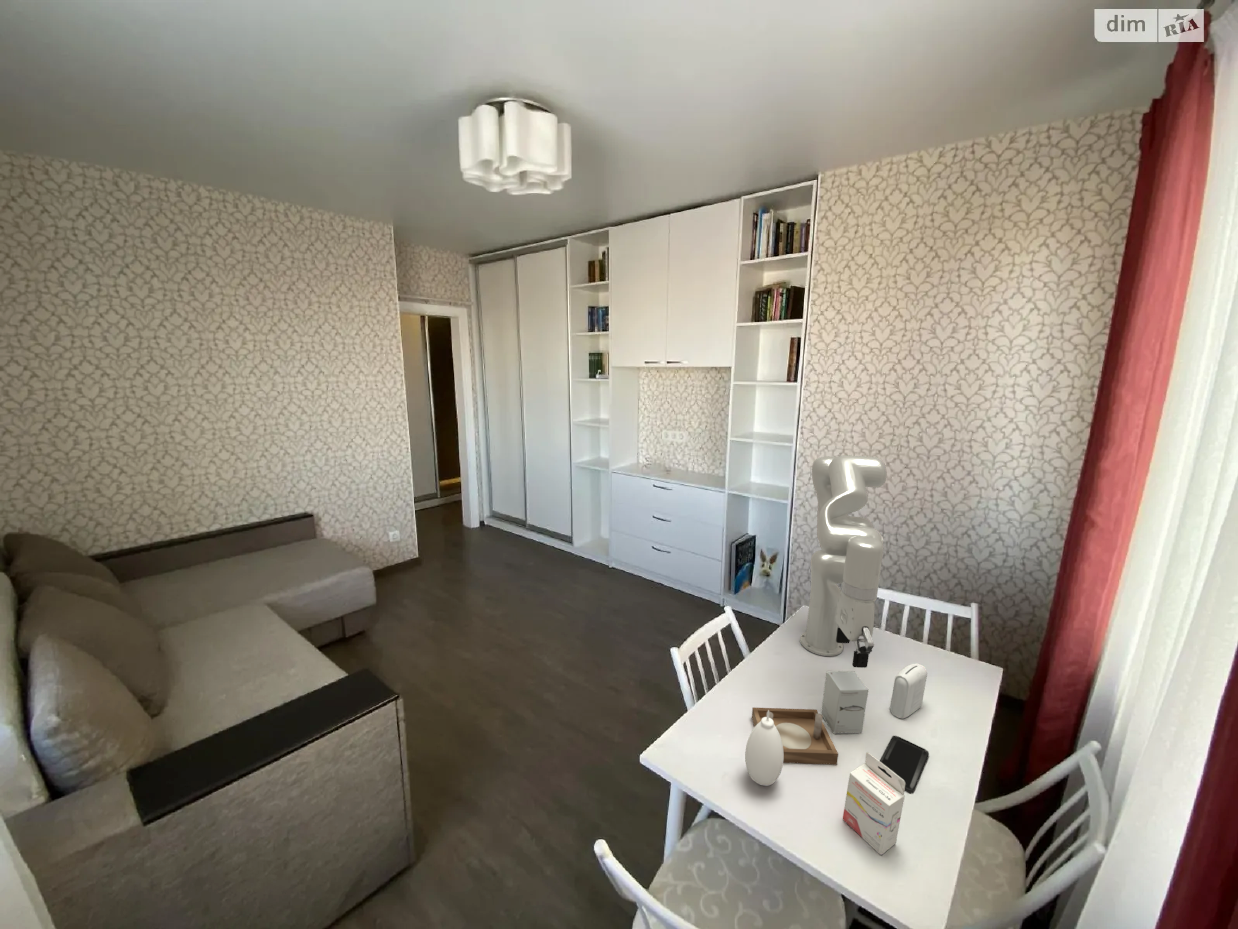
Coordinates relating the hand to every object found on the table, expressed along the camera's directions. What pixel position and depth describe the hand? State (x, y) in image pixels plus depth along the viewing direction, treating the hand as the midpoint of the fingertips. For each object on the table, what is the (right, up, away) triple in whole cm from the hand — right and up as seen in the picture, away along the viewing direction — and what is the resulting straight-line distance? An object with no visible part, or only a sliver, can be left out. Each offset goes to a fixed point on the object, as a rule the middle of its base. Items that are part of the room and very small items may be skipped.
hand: (850, 654), depth 121 cm
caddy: (-14, -20, 0) cm, 25 cm away
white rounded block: (+19, -18, +10) cm, 28 cm away
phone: (+8, -23, -7) cm, 25 cm away
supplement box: (0, -19, +5) cm, 20 cm away
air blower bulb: (-25, -23, -12) cm, 36 cm away
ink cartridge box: (-7, -26, -23) cm, 36 cm away
